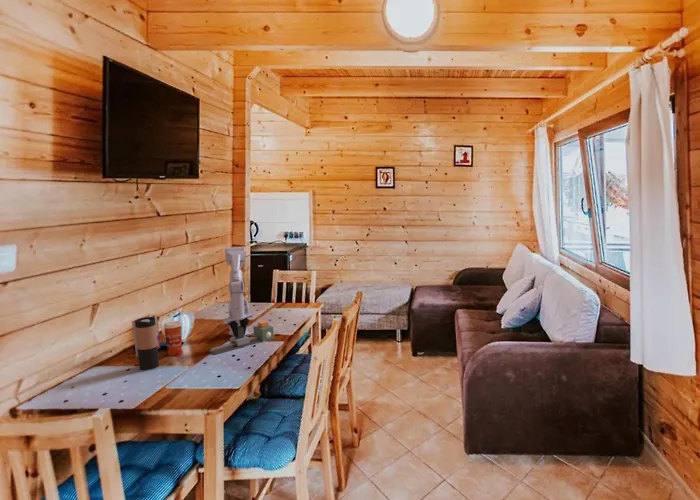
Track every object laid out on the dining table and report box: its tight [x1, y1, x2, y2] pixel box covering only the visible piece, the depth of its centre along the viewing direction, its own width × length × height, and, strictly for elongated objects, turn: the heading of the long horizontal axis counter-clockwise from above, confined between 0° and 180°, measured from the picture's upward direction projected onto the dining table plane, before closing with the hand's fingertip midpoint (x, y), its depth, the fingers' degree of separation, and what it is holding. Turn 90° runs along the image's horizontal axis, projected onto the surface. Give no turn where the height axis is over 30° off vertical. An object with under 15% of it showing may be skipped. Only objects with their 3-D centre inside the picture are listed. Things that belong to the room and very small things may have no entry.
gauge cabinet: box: [253, 324, 275, 342], centre depth 209 cm, size 8×6×6 cm
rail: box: [208, 335, 261, 356], centre depth 199 cm, size 6×23×2 cm, turn 135°
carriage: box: [229, 326, 250, 346], centre depth 200 cm, size 7×6×7 cm
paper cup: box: [162, 320, 183, 357], centre depth 192 cm, size 8×8×14 cm
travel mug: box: [134, 317, 160, 371], centre depth 176 cm, size 8×8×20 cm
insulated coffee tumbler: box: [131, 314, 161, 358], centre depth 193 cm, size 11×5×16 cm, turn 168°
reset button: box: [257, 320, 269, 328], centre depth 209 cm, size 4×4×4 cm
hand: (239, 335), depth 200 cm, fingers open, 3 cm apart
